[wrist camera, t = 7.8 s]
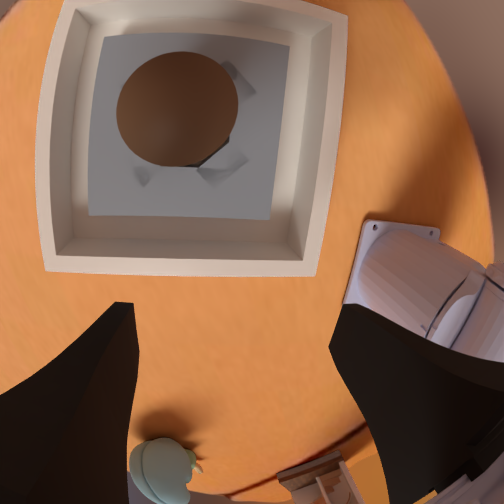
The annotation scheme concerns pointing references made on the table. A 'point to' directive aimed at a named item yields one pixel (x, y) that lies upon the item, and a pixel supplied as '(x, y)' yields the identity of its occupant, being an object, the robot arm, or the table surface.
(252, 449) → the table surface
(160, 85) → the peg
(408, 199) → the table surface
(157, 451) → the toy flower bud
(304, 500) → the tall white shelf
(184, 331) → the table surface
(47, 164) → the box
